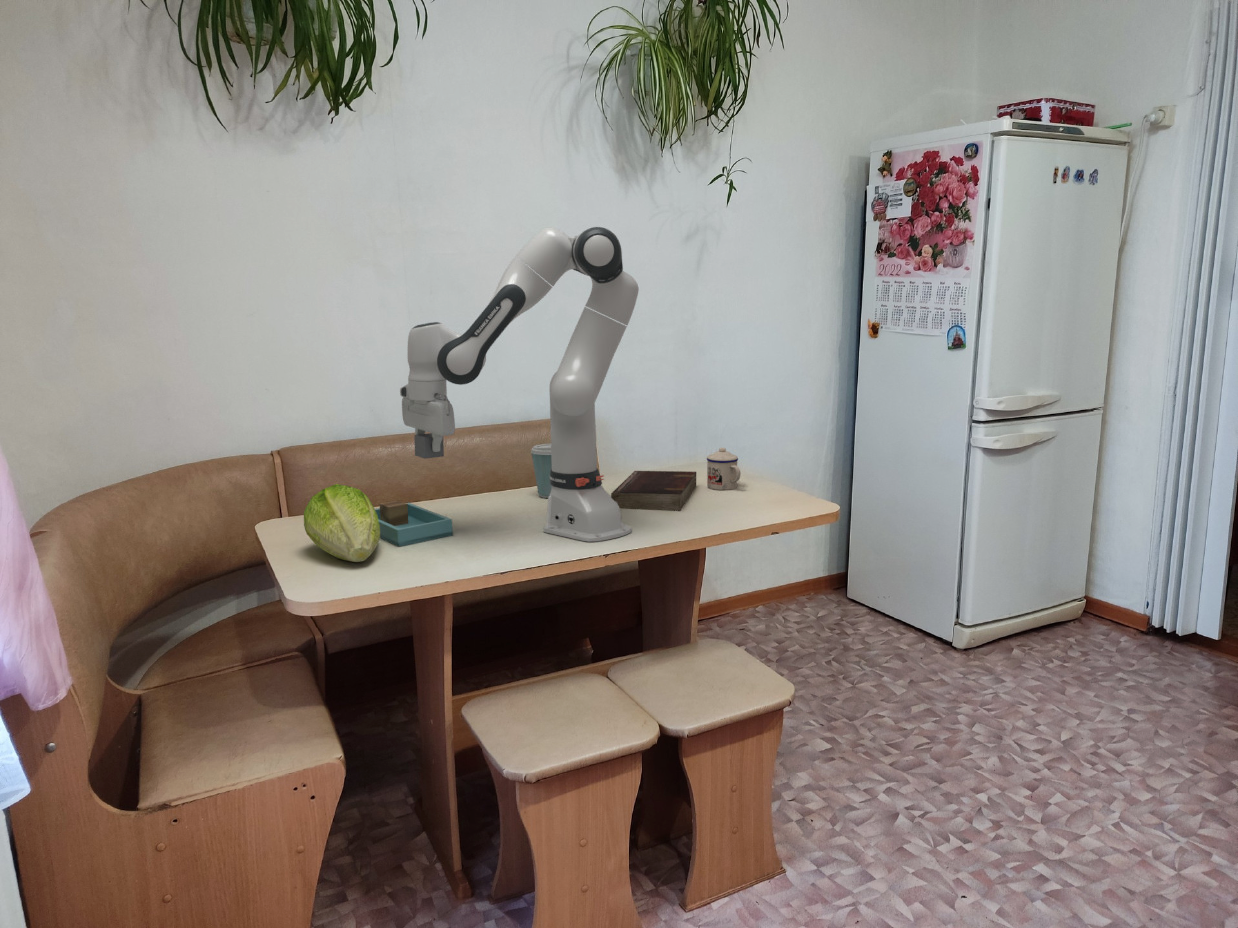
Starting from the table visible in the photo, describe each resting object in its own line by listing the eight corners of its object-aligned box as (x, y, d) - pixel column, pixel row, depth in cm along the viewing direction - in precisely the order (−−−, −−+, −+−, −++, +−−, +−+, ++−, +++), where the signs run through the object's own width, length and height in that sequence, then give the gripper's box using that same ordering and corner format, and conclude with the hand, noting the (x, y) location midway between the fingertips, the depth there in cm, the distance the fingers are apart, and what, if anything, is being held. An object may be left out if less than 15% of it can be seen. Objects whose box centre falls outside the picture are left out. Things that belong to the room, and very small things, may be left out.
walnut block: (408, 523, 215) (407, 503, 214) (389, 527, 212) (388, 507, 211) (399, 519, 219) (398, 500, 218) (380, 523, 216) (379, 503, 215)
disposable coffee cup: (525, 498, 244) (523, 446, 241) (542, 490, 253) (541, 439, 250) (559, 501, 240) (558, 448, 237) (575, 493, 250) (574, 441, 247)
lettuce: (398, 579, 191) (324, 600, 185) (372, 519, 209) (304, 535, 203) (390, 526, 183) (313, 546, 177) (364, 468, 201) (293, 484, 195)
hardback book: (634, 485, 260) (633, 469, 259) (696, 488, 256) (696, 471, 255) (610, 509, 232) (610, 491, 231) (680, 512, 228) (680, 494, 227)
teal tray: (452, 535, 208) (451, 519, 207) (398, 546, 199) (397, 530, 198) (410, 517, 225) (409, 502, 224) (358, 527, 216) (357, 512, 215)
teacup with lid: (700, 486, 256) (700, 447, 253) (723, 482, 261) (724, 444, 258) (727, 494, 246) (727, 453, 244) (751, 489, 251) (751, 450, 249)
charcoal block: (443, 456, 208) (443, 435, 207) (424, 458, 205) (424, 437, 204) (433, 453, 212) (433, 433, 211) (415, 455, 209) (414, 434, 208)
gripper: (461, 395, 200) (462, 454, 202) (420, 386, 215) (421, 442, 218) (436, 397, 196) (437, 457, 198) (396, 388, 211) (398, 444, 214)
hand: (429, 449), depth 208 cm, fingers closed on charcoal block, 5 cm apart
